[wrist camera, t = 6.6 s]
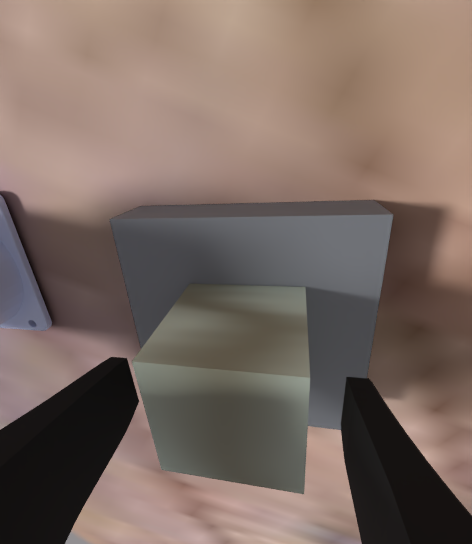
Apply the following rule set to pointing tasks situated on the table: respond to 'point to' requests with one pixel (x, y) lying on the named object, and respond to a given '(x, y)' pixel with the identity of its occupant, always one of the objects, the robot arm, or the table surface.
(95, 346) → the table surface
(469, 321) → the table surface
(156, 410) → the green cube
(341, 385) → the grey base block
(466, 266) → the table surface
